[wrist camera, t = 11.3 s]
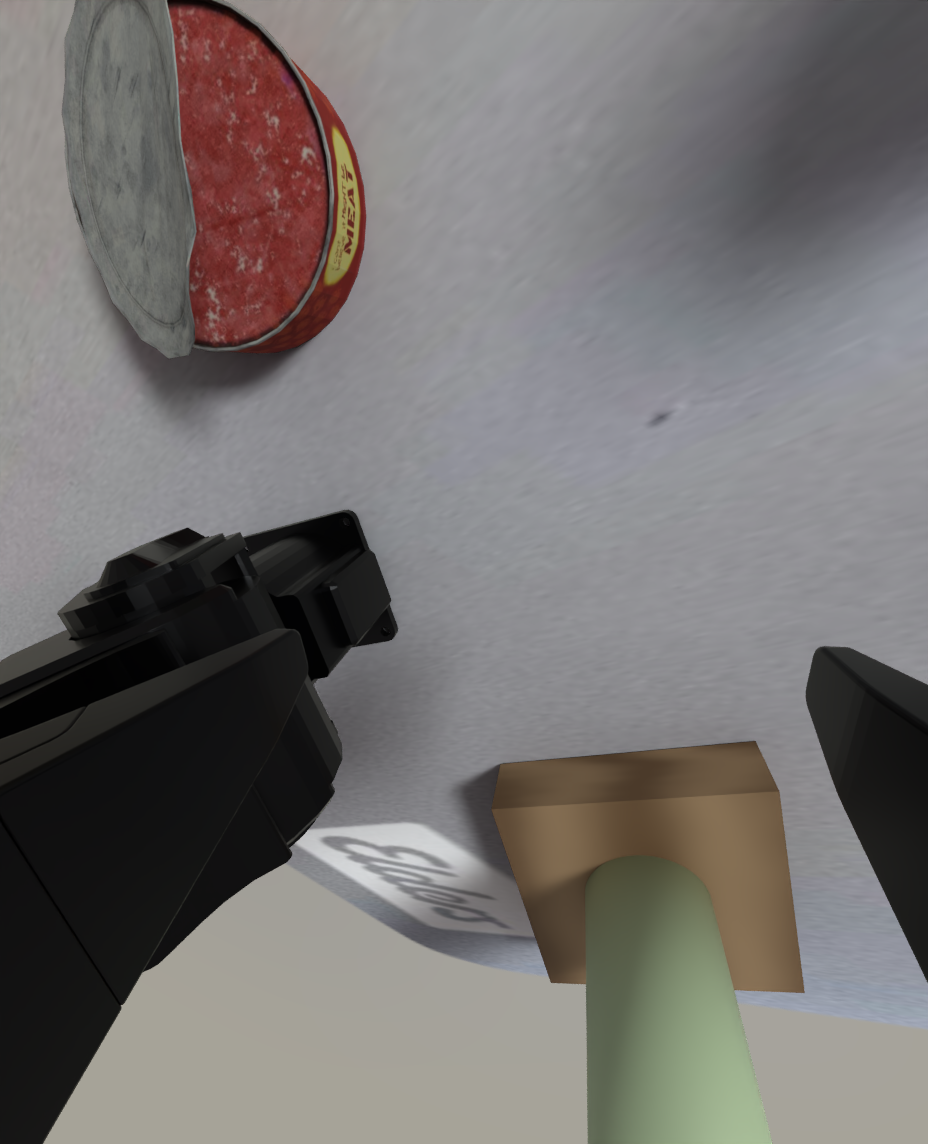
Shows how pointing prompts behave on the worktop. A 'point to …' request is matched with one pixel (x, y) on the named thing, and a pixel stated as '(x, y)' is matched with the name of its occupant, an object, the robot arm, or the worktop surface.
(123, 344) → the worktop surface
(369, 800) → the worktop surface
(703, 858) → the walnut base
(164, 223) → the canned food
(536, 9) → the worktop surface
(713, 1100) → the green cylinder
